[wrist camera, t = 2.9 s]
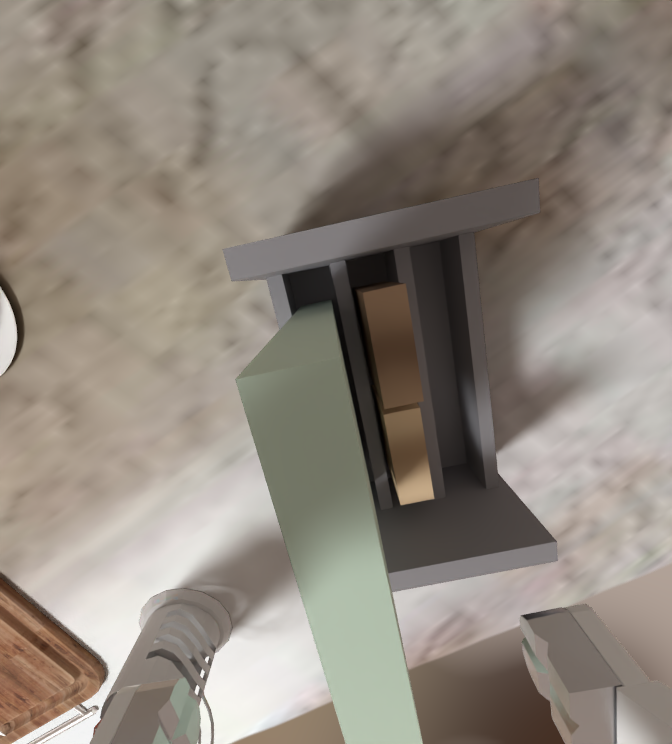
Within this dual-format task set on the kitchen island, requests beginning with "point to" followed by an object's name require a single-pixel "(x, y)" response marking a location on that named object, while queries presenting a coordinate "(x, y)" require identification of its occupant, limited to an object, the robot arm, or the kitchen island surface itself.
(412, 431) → the offcut oak
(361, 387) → the rack
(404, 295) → the offcut walnut
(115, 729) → the robot arm
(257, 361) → the tall panel
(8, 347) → the pudding
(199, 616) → the french press
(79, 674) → the chopping board
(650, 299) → the kitchen island surface
